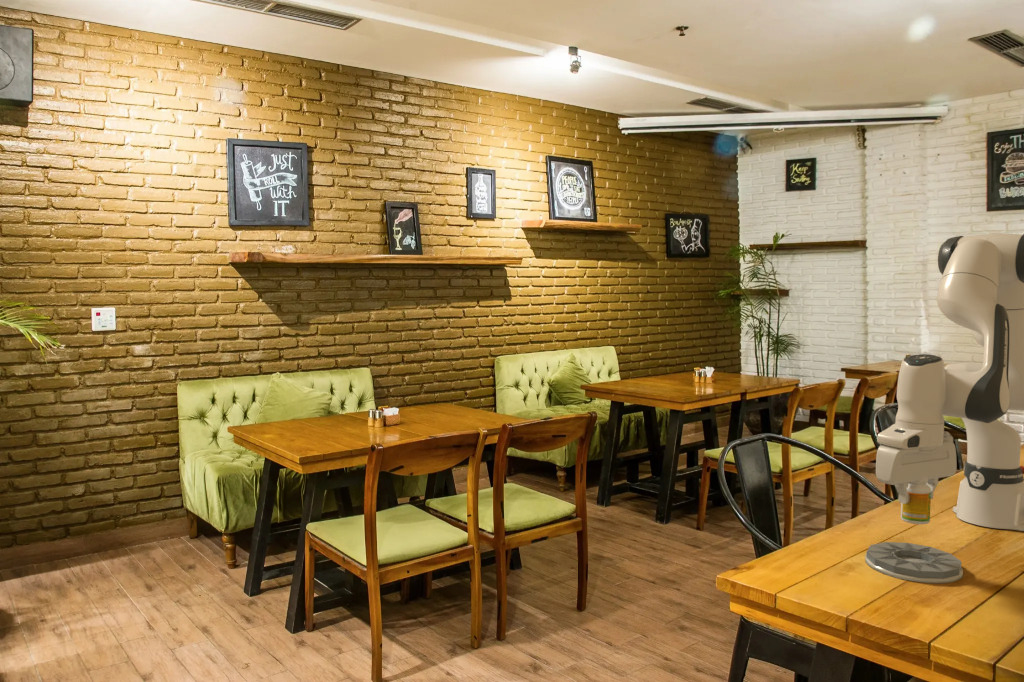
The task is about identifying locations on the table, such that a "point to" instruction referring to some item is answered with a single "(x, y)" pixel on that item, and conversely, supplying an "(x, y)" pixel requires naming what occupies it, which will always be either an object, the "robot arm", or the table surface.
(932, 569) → the grey faceted round plate
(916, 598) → the table surface
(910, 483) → the supplement bottle
